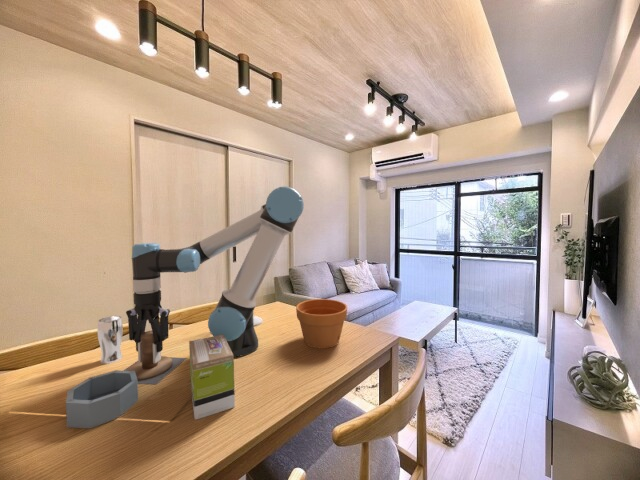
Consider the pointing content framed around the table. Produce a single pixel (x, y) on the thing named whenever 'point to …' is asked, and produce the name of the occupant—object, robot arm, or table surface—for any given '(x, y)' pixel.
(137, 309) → the robot arm
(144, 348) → the lid
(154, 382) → the mat
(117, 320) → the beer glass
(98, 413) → the bowl
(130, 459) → the table surface
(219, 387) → the tea box
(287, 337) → the table surface
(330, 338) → the flower pot
